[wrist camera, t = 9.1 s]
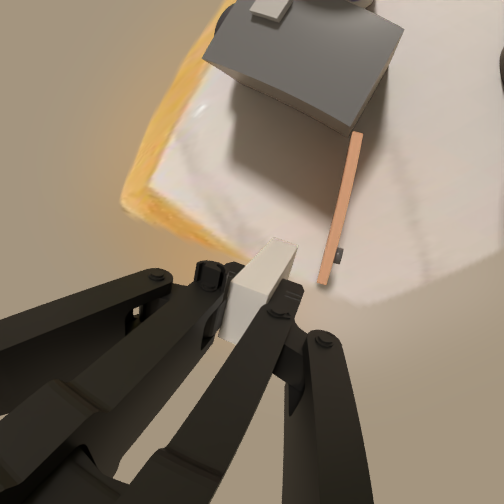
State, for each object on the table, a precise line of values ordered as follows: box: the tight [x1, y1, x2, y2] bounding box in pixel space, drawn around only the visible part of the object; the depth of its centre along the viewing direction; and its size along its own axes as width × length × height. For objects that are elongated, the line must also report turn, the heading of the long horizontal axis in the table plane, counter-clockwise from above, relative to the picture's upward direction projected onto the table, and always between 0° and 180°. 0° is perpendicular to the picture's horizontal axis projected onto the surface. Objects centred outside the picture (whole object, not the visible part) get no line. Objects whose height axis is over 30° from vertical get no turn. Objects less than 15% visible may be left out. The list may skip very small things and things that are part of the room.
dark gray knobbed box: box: [202, 0, 404, 138], centre depth 26 cm, size 18×12×13 cm, turn 63°
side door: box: [317, 131, 363, 285], centre depth 30 cm, size 15×2×10 cm, turn 171°
